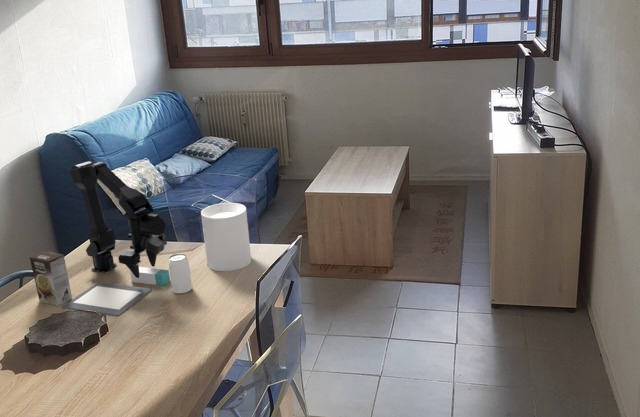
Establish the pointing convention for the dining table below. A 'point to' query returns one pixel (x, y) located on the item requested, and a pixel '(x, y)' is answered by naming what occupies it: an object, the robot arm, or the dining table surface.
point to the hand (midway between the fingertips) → (145, 271)
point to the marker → (151, 276)
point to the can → (180, 273)
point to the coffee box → (51, 277)
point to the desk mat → (107, 298)
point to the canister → (226, 236)
